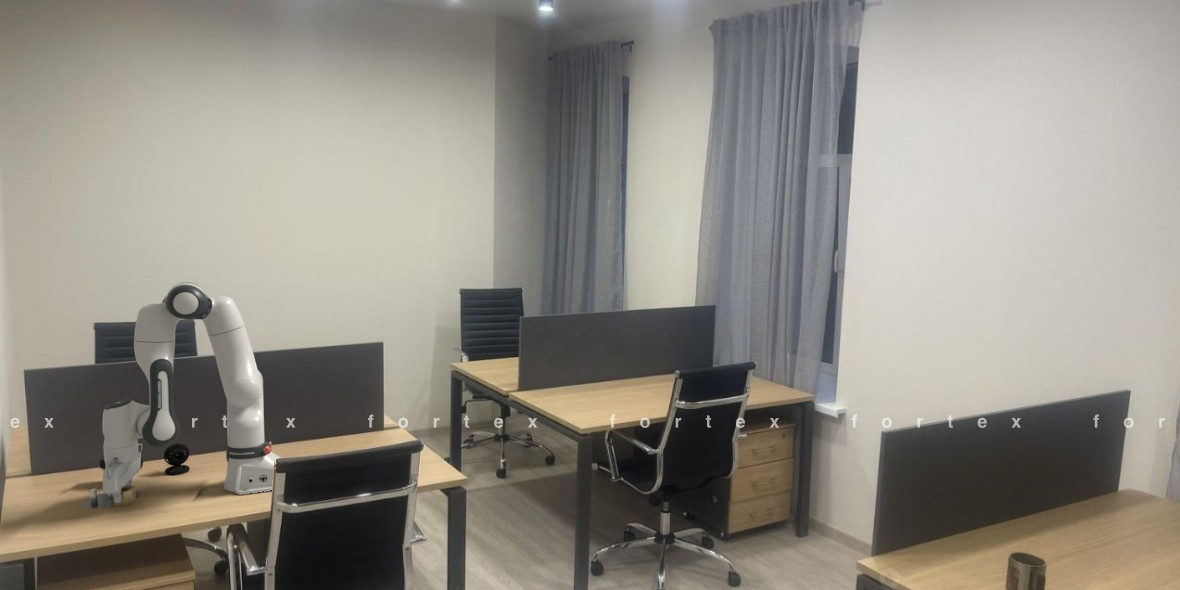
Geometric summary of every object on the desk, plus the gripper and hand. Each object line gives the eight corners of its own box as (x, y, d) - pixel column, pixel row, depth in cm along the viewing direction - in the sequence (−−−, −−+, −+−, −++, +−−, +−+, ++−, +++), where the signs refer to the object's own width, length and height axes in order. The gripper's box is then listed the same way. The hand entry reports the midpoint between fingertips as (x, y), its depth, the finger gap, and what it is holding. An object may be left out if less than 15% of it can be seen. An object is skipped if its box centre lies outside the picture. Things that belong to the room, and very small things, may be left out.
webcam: (166, 477, 255) (165, 448, 253) (162, 470, 260) (161, 442, 259) (192, 472, 259) (191, 444, 258) (187, 466, 265) (186, 439, 264)
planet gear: (137, 497, 234) (137, 484, 234) (130, 504, 228) (130, 492, 228) (116, 498, 233) (115, 486, 232) (108, 506, 227) (108, 493, 227)
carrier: (142, 494, 239) (141, 478, 238) (127, 509, 227) (127, 492, 227) (96, 497, 236) (95, 480, 235) (79, 512, 224) (78, 494, 224)
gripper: (119, 464, 220) (121, 509, 221) (144, 442, 239) (146, 484, 241) (95, 465, 218) (97, 511, 220) (122, 443, 238) (124, 485, 240)
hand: (123, 497), depth 230 cm, fingers open, 6 cm apart
